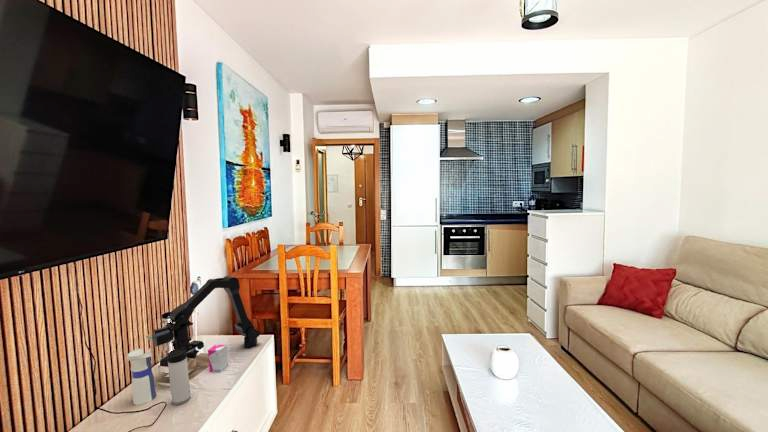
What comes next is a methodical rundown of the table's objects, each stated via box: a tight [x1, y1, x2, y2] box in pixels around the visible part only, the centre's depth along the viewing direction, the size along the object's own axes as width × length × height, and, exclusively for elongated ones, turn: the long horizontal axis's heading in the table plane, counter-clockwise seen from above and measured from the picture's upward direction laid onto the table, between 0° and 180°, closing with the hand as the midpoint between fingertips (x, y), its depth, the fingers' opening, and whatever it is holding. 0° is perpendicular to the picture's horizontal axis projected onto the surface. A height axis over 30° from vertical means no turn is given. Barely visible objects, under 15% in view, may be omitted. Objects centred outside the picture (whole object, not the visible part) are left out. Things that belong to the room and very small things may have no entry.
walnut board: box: [188, 352, 209, 381], centre depth 159 cm, size 22×14×2 cm, turn 165°
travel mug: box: [166, 347, 192, 406], centre depth 135 cm, size 6×7×20 cm
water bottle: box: [125, 333, 158, 406], centre depth 137 cm, size 8×9×25 cm
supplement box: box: [207, 344, 229, 373], centre depth 155 cm, size 6×6×12 cm
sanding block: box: [187, 358, 196, 375], centre depth 153 cm, size 5×8×5 cm, turn 76°
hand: (184, 371), depth 153 cm, fingers closed on sanding block, 5 cm apart
